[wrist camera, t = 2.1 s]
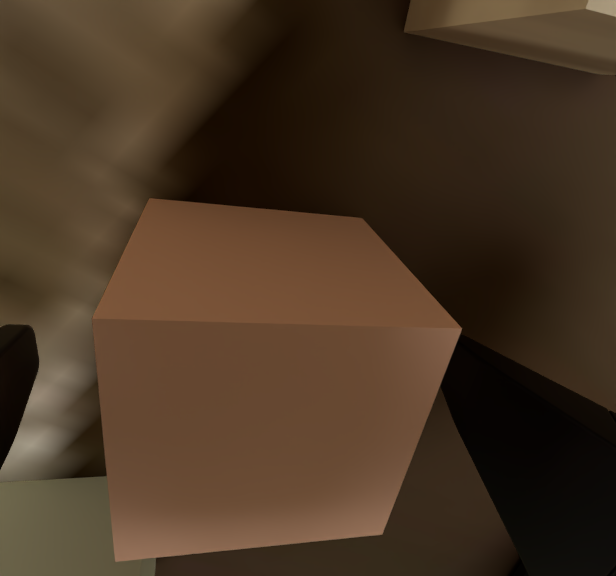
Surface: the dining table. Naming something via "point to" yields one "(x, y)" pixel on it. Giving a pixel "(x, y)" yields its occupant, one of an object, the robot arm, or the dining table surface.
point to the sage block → (60, 530)
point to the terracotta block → (260, 379)
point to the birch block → (525, 29)
